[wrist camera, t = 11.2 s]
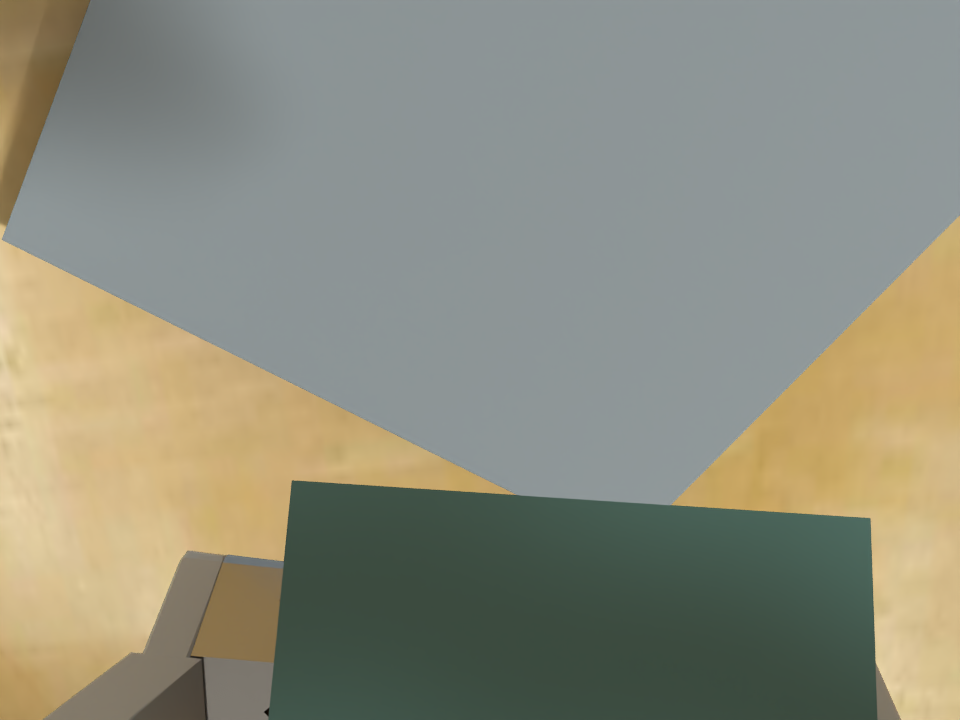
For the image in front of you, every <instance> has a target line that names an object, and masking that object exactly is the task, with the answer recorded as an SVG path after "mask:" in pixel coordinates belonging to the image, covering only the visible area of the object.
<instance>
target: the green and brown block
mask: <svg viewBox="0 0 960 720" xmlns="http://www.w3.org/2000/svg"><path fill="white" fill-rule="evenodd" d="M268 720H878V719H877V691H876V663H875V634H874V606H873V578H872V550H871V522H870V518H858V517H843V516H827V515H812V514H797V513H781V512H766V511H751V510H735V509H720V508H705V507H690V506H674V505H659V504H644V503H628V502H613V501H598V500H582V499H567V498H552V497H536V496H521V495H506V494H491V493H475V492H460V491H445V490H429V489H414V488H399V487H383V486H368V485H353V484H338V483H322V482H307V481H292V485H291V495H290V505H289V515H288V525H287V535H286V545H285V556H284V566H283V576H282V586H281V596H280V606H279V616H278V626H277V636H276V646H275V656H274V666H273V676H272V686H271V696H270V707H269V717H268Z"/></svg>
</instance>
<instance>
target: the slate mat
mask: <svg viewBox="0 0 960 720" xmlns="http://www.w3.org/2000/svg"><path fill="white" fill-rule="evenodd" d="M959 215H960V0H90V3H89V6H88V8H87V11H86V14H85V17H84V19H83V22H82V25H81V27H80V30H79V33H78V35H77V38H76V41H75V44H74V46H73V49H72V52H71V54H70V57H69V60H68V62H67V65H66V68H65V71H64V73H63V76H62V79H61V81H60V84H59V87H58V89H57V92H56V95H55V98H54V100H53V103H52V106H51V108H50V111H49V114H48V116H47V119H46V122H45V125H44V127H43V130H42V133H41V135H40V138H39V141H38V143H37V146H36V149H35V151H34V154H33V157H32V160H31V162H30V165H29V168H28V170H27V173H26V176H25V178H24V181H23V184H22V187H21V189H20V192H19V195H18V197H17V200H16V203H15V205H14V208H13V211H12V214H11V216H10V219H9V222H8V224H7V227H6V230H5V232H4V235H3V238H2V240H3V241H5V242H7V243H9V244H11V245H13V246H15V247H18V248H20V249H22V250H24V251H26V252H28V253H30V254H32V255H34V256H36V257H38V258H40V259H42V260H44V261H46V262H48V263H50V264H52V265H54V266H56V267H58V268H60V269H62V270H64V271H66V272H68V273H70V274H72V275H74V276H76V277H78V278H80V279H82V280H84V281H86V282H88V283H90V284H92V285H94V286H96V287H98V288H100V289H102V290H104V291H106V292H108V293H110V294H112V295H114V296H116V297H118V298H120V299H123V300H125V301H127V302H129V303H131V304H133V305H135V306H137V307H139V308H141V309H143V310H145V311H147V312H149V313H151V314H153V315H155V316H157V317H159V318H161V319H163V320H165V321H167V322H169V323H171V324H173V325H175V326H177V327H179V328H181V329H183V330H185V331H187V332H189V333H191V334H193V335H195V336H197V337H199V338H201V339H203V340H205V341H207V342H209V343H211V344H213V345H215V346H217V347H219V348H221V349H223V350H226V351H228V352H230V353H232V354H234V355H236V356H238V357H240V358H242V359H244V360H246V361H248V362H250V363H252V364H254V365H256V366H258V367H260V368H262V369H264V370H266V371H268V372H270V373H272V374H274V375H276V376H278V377H280V378H282V379H284V380H286V381H288V382H290V383H292V384H294V385H296V386H298V387H300V388H302V389H304V390H306V391H308V392H310V393H312V394H314V395H316V396H318V397H320V398H322V399H324V400H326V401H328V402H331V403H333V404H335V405H337V406H339V407H341V408H343V409H345V410H347V411H349V412H351V413H353V414H355V415H357V416H359V417H361V418H363V419H365V420H367V421H369V422H371V423H373V424H375V425H377V426H379V427H381V428H383V429H385V430H387V431H389V432H391V433H393V434H395V435H397V436H399V437H401V438H403V439H405V440H407V441H409V442H411V443H413V444H415V445H417V446H419V447H421V448H423V449H425V450H427V451H429V452H431V453H434V454H436V455H438V456H440V457H442V458H444V459H446V460H448V461H450V462H452V463H454V464H456V465H458V466H460V467H462V468H464V469H466V470H468V471H470V472H472V473H474V474H476V475H478V476H480V477H482V478H484V479H486V480H488V481H490V482H492V483H494V484H496V485H498V486H500V487H502V488H504V489H506V490H508V491H510V492H512V493H514V494H516V495H521V496H536V497H552V498H567V499H582V500H598V501H613V502H628V503H644V504H659V505H671V504H672V503H673V502H674V501H675V500H676V499H677V498H678V497H679V496H680V495H681V494H682V493H683V492H684V491H685V490H686V489H687V488H688V487H689V486H690V485H691V484H692V483H693V482H694V481H695V480H696V479H697V478H698V477H699V476H700V475H701V474H702V473H703V472H704V471H705V470H706V469H707V468H708V467H709V466H710V465H711V464H712V463H713V462H714V461H715V460H716V459H717V458H718V457H719V456H720V455H721V454H722V453H723V452H724V451H725V450H726V449H727V448H728V447H729V446H730V445H731V444H732V443H733V442H734V441H735V440H736V439H737V438H738V437H739V436H740V435H741V434H742V433H743V432H744V431H745V430H746V429H747V428H748V427H749V426H750V425H751V424H752V423H753V422H754V421H755V420H756V419H757V418H758V417H759V416H760V415H761V414H762V413H763V412H764V411H765V410H766V409H767V408H768V407H769V406H770V405H771V404H772V403H773V402H774V401H775V400H776V399H777V398H778V397H779V396H780V395H781V394H782V393H783V392H784V391H785V390H786V389H787V388H788V387H789V386H790V385H791V384H792V383H793V382H794V381H795V380H796V379H797V378H798V377H799V376H800V375H801V374H802V373H803V372H804V371H805V370H806V369H807V368H808V367H809V366H810V365H811V364H812V363H813V362H814V361H815V360H816V359H817V358H818V357H819V356H820V355H821V354H822V353H823V352H824V351H825V350H826V349H827V348H828V347H829V346H830V345H831V344H832V343H833V342H834V341H835V340H836V339H837V338H838V337H839V336H840V335H841V334H842V333H843V332H844V331H845V330H846V329H847V328H848V327H849V326H850V325H851V324H852V323H853V322H854V321H855V320H856V319H857V318H858V317H859V316H860V315H861V314H862V313H863V312H864V311H865V310H866V309H867V308H868V307H869V306H870V305H871V304H872V303H873V302H874V301H875V300H876V299H877V298H878V297H879V296H880V295H881V294H882V293H883V292H884V291H885V290H886V289H887V288H888V287H889V286H890V285H891V284H892V283H893V282H894V281H895V280H896V279H897V278H898V277H899V276H900V275H901V274H902V273H903V272H904V271H905V270H906V269H907V268H908V267H909V266H910V265H911V264H912V263H913V261H914V260H915V259H916V258H917V257H918V256H919V255H920V254H921V253H922V252H923V251H924V250H925V249H926V248H927V247H928V246H929V245H930V244H931V243H932V242H933V241H934V240H935V239H936V238H937V237H938V236H939V235H940V234H941V233H942V232H943V231H944V230H945V229H946V228H947V227H948V226H949V225H950V224H951V223H952V222H953V221H954V220H955V219H956V218H957V217H958V216H959Z"/></svg>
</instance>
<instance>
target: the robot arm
mask: <svg viewBox="0 0 960 720" xmlns="http://www.w3.org/2000/svg"><path fill="white" fill-rule="evenodd" d="M283 566H284V561H275V560H267V559H259V558H251V557H242V556H234V555H220V554H212V553H203V552H195V551H187V552H186V554H185V555H184V556H183V557H182V558H181V560H180V562H179V564H178V567H177V569H176V572H175V574H174V577H173V579H172V582H171V584H170V587H169V589H168V592H167V594H166V597H165V599H164V602H163V604H162V607H161V609H160V612H159V614H158V617H157V619H156V622H155V624H154V627H153V629H152V632H151V634H150V636H149V639H148V641H147V644H146V646H145V649H144V651H143V653H132V652H131V653H129V654H128V655H127V656H125V657H124V658H123V659H122V660H120V661H119V662H118V663H116V664H115V665H114V666H112V667H111V668H110V669H108V670H107V671H106V672H104V673H103V674H102V675H100V676H99V677H98V678H97V679H95V680H94V681H93V682H91V683H90V684H89V685H87V686H86V687H85V688H83V689H82V690H81V691H79V692H78V693H77V694H75V695H74V696H73V697H72V698H70V699H69V700H68V701H66V702H65V703H64V704H62V705H61V706H60V707H58V708H57V709H56V710H54V711H53V712H52V713H50V714H49V715H48V716H47V717H45V718H44V719H43V720H268V717H269V707H270V696H271V686H272V676H273V666H274V656H275V646H276V636H277V626H278V616H279V606H280V596H281V586H282V576H283ZM875 663H876V662H875ZM876 691H877V719H878V720H901V718H900V716H899V714H898V712H897V709H896V707H895V705H894V703H893V700H892V698H891V696H890V694H889V691H888V689H887V687H886V685H885V683H884V680H883V678H882V676H881V674H880V671H879V669H878V667H877V665H876Z"/></svg>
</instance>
